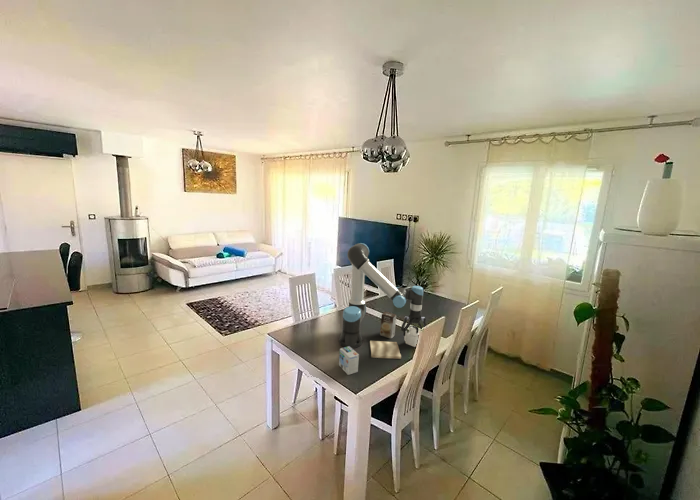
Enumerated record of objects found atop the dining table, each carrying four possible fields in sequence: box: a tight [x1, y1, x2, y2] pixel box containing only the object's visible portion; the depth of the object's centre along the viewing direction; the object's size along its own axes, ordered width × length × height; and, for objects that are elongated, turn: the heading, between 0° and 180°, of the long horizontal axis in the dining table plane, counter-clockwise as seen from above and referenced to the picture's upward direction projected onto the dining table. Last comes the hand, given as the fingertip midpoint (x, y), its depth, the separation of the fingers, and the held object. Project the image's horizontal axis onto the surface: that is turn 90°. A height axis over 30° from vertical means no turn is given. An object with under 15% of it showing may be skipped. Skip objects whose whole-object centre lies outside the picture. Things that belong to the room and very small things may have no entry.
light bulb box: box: [338, 346, 360, 376], centre depth 168 cm, size 11×7×11 cm, turn 32°
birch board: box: [369, 340, 402, 360], centre depth 190 cm, size 18×18×2 cm
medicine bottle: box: [405, 325, 420, 348], centre depth 200 cm, size 7×7×12 cm
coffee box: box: [379, 311, 397, 339], centre depth 209 cm, size 9×6×16 cm
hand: (412, 340), depth 201 cm, fingers closed on medicine bottle, 10 cm apart
